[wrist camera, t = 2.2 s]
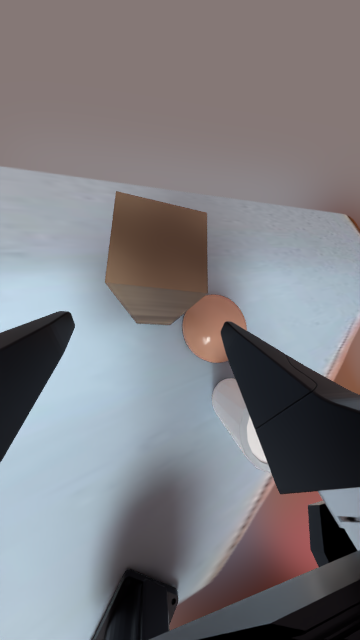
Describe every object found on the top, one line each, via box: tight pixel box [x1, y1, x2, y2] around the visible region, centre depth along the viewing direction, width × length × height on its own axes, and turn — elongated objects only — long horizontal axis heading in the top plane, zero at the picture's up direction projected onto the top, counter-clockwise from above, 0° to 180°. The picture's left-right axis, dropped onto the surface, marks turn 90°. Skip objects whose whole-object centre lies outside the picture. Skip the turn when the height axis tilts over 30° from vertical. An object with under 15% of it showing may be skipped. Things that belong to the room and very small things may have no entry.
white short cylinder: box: [212, 378, 271, 473], centre depth 16 cm, size 7×7×7 cm
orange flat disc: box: [182, 295, 247, 363], centre depth 20 cm, size 10×10×1 cm
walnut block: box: [105, 191, 208, 325], centre depth 13 cm, size 4×4×13 cm
